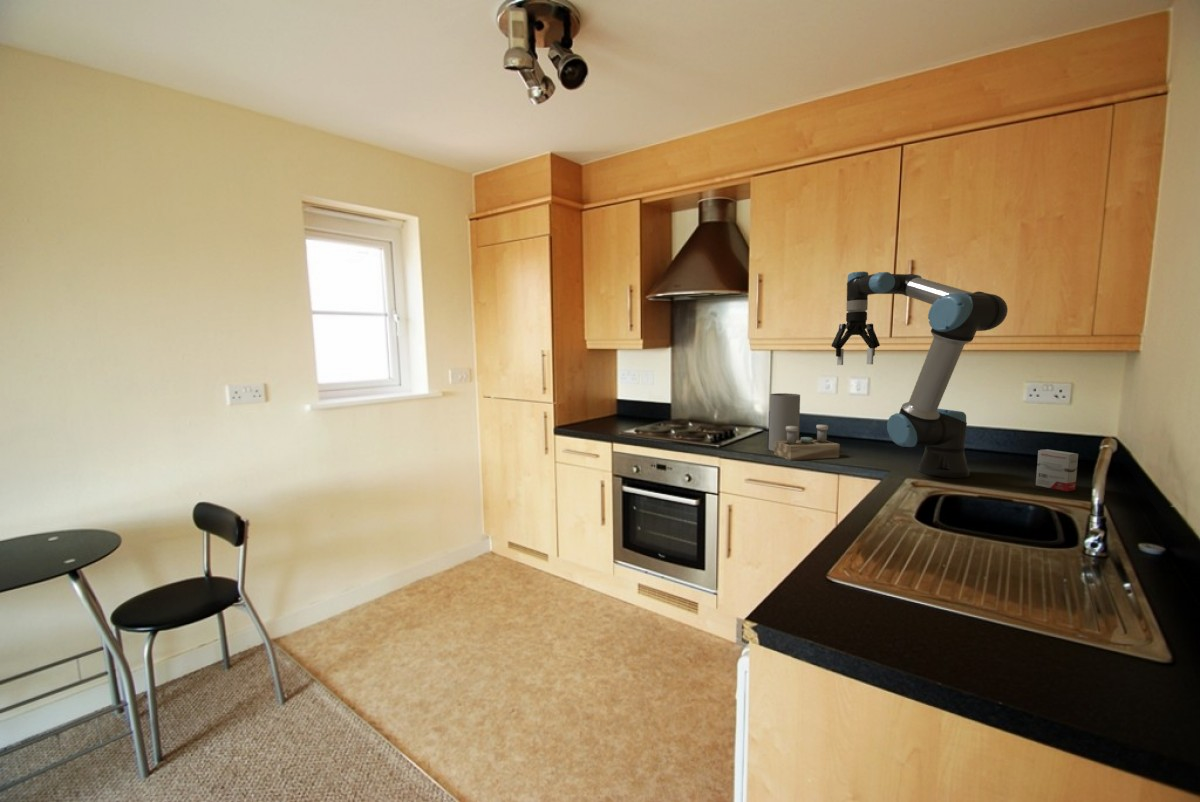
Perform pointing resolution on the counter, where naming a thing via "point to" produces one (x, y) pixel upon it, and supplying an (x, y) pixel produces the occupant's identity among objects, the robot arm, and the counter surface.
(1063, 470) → the ink box
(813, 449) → the mount
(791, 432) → the knob left
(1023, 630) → the counter surface
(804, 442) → the knob middle
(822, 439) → the knob right
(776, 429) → the cylinder vase
